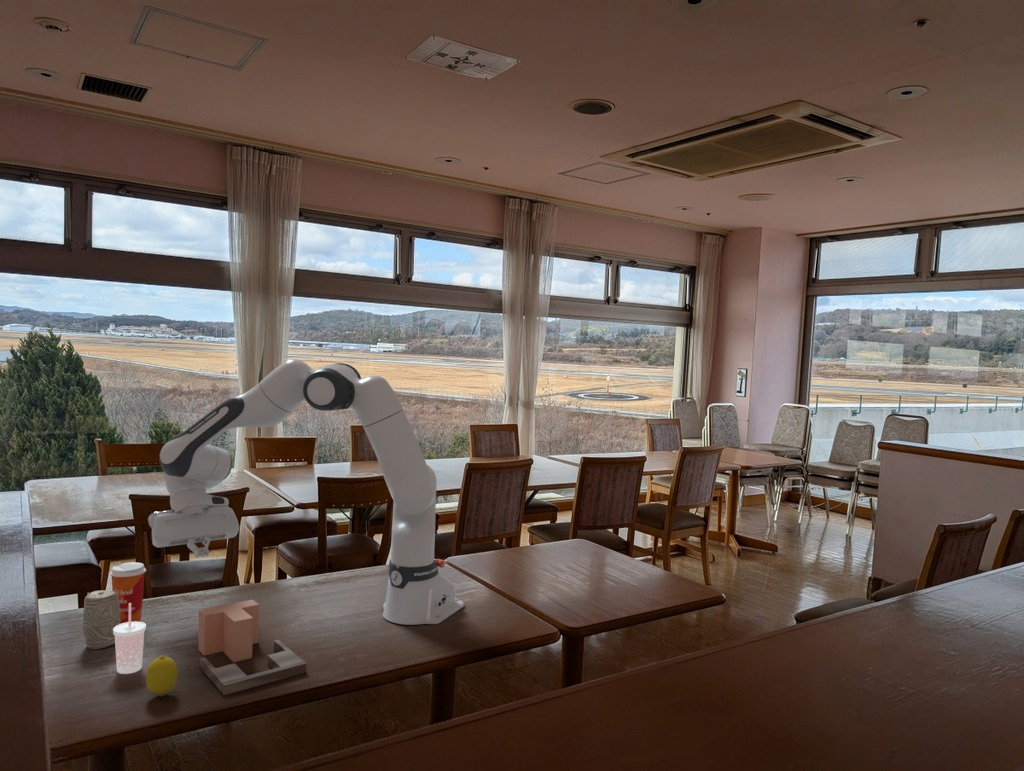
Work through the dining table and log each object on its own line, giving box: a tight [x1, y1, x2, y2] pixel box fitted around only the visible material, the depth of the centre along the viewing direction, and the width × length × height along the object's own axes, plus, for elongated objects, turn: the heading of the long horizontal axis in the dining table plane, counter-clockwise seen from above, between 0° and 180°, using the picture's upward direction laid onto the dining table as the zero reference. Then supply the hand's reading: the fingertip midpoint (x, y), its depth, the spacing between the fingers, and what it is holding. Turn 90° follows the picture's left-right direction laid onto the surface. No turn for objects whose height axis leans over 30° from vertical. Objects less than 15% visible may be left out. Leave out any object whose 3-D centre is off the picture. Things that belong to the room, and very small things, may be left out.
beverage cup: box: [113, 603, 147, 675], centre depth 151 cm, size 6×6×14 cm
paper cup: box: [109, 561, 147, 624], centre depth 175 cm, size 8×8×14 cm
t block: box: [198, 599, 260, 663], centre depth 162 cm, size 11×12×9 cm
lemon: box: [145, 655, 178, 697], centre depth 141 cm, size 6×6×8 cm
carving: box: [82, 589, 120, 650], centre depth 162 cm, size 6×8×12 cm
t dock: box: [199, 639, 307, 696], centre depth 153 cm, size 15×17×2 cm
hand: (202, 555), depth 178 cm, fingers closed
